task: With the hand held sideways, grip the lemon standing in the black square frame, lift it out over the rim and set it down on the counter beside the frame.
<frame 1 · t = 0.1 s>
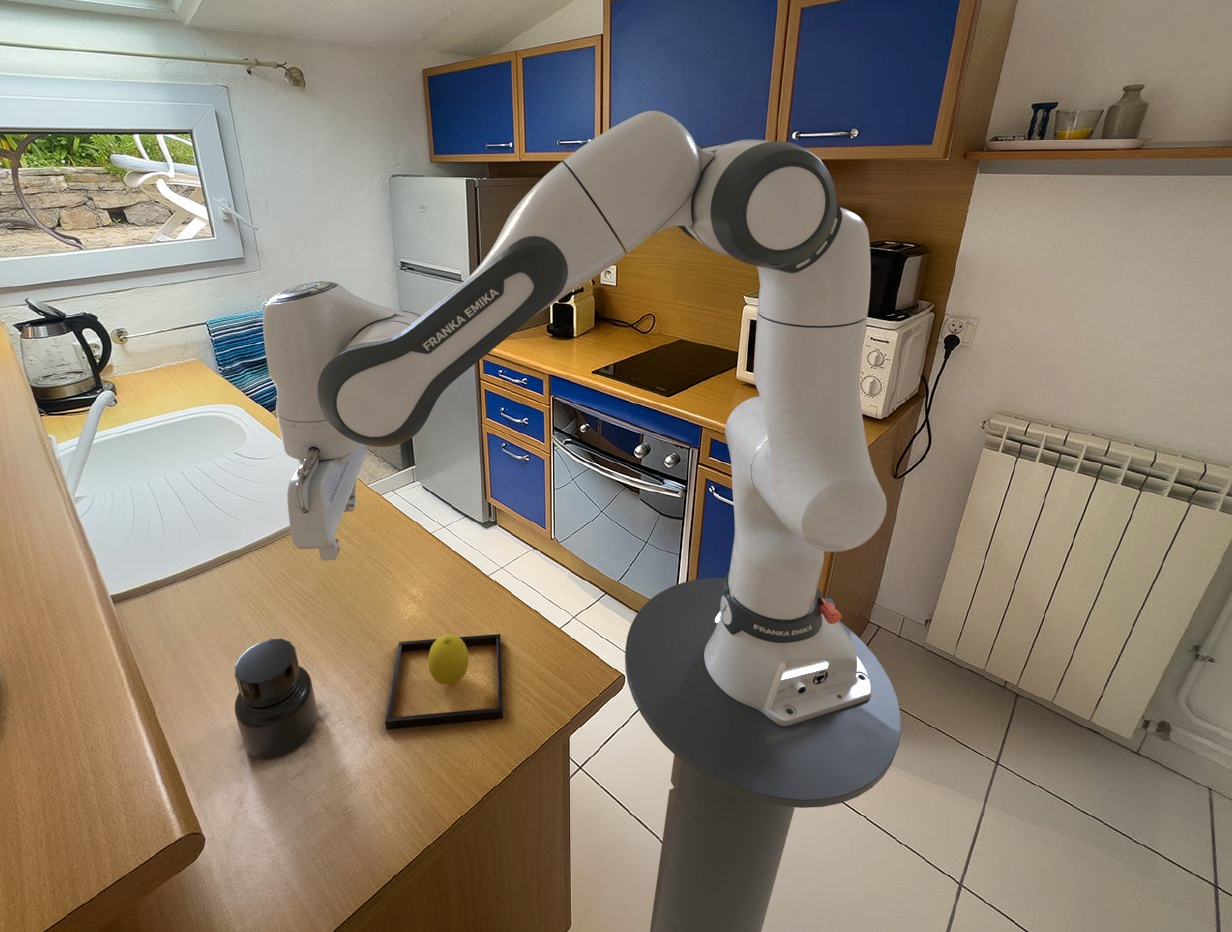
hand: (340, 531, 70), 27 cm above the counter, tool pointing down, fingers open, 8 cm apart
ink bottle: (282, 729, 75), on the counter
lemon: (450, 681, 82), resting in black square frame
black square frame: (448, 681, 82), on the counter
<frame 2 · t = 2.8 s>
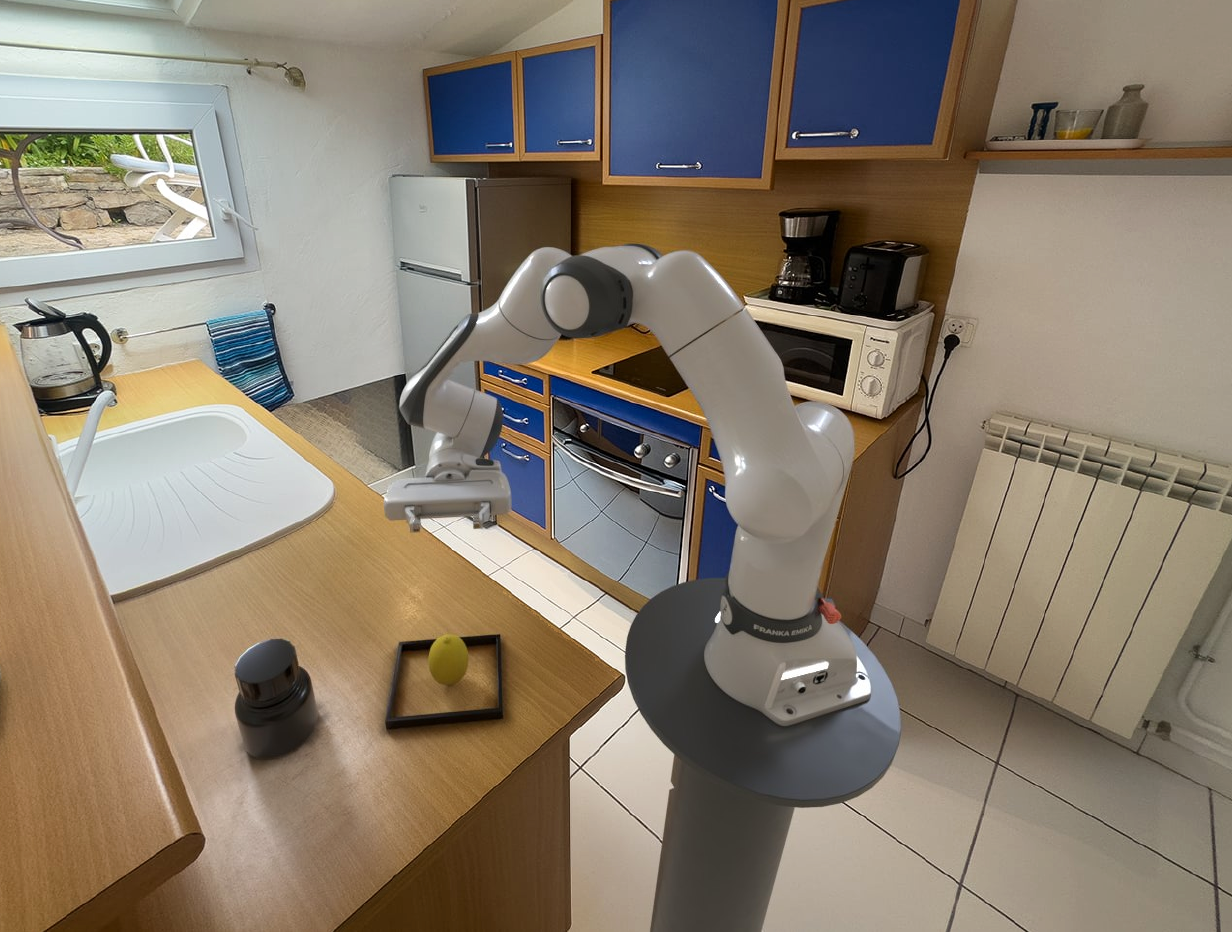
hand: (446, 527, 87), 17 cm above the counter, tool horizontal, fingers open, 8 cm apart
nothing on the counter moved.
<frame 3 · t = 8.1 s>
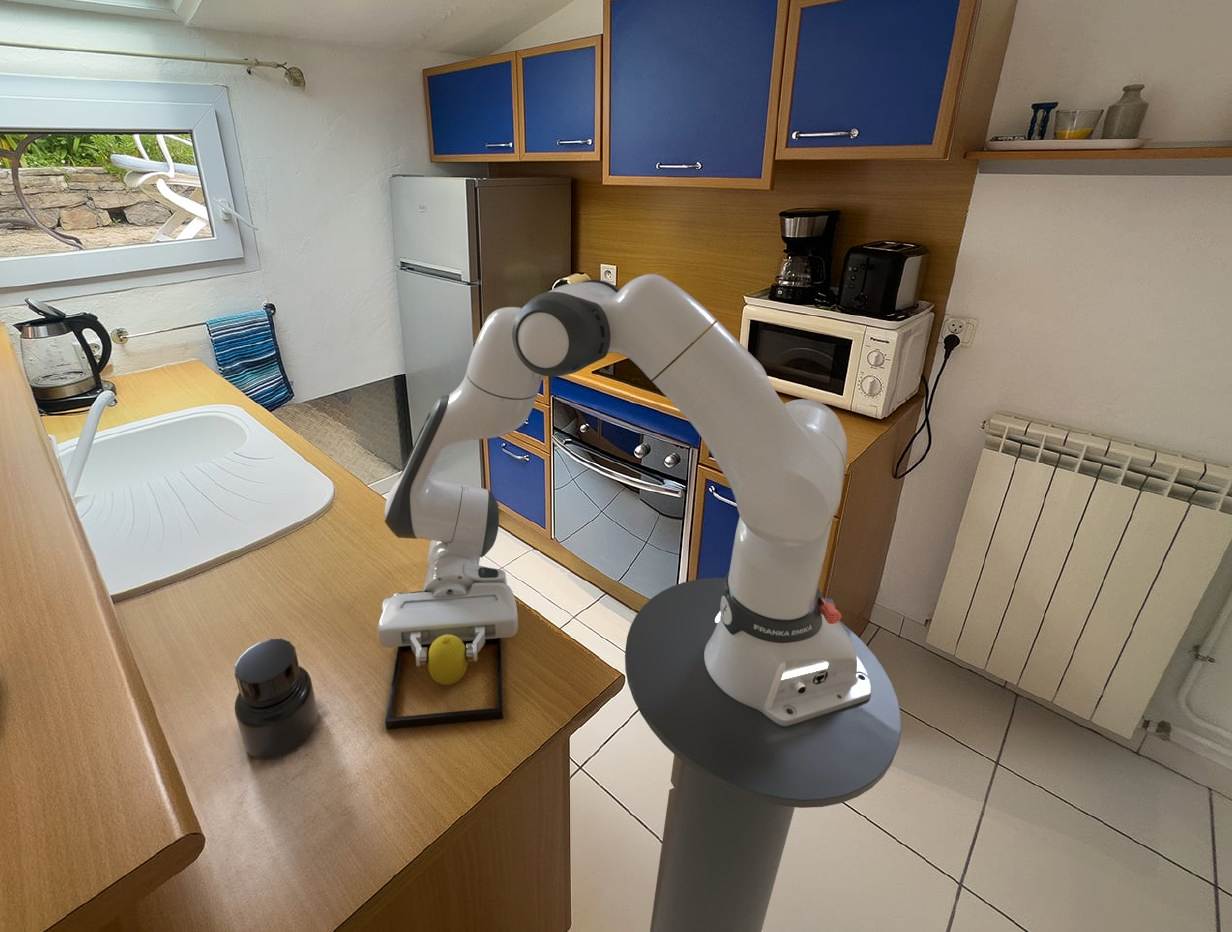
hand: (447, 660, 79), 5 cm above the counter, tool horizontal, fingers closed on lemon, 5 cm apart
lemon: (450, 681, 82), resting in black square frame, touching gripper
everything else where it was.
when the fingers open (5 cm above the counter, at t = 16.4 s): lemon stays where it is, on the counter.
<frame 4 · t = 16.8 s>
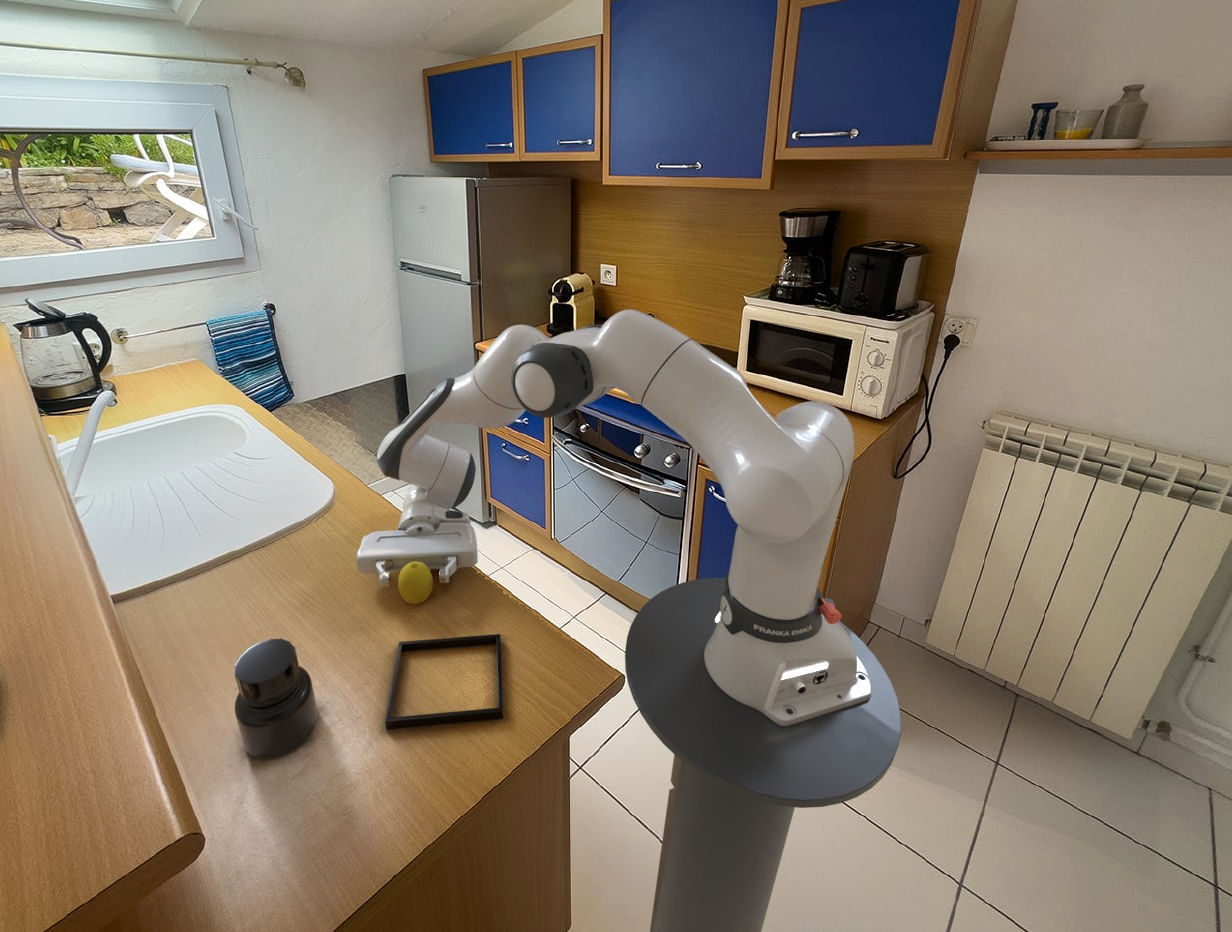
hand: (414, 581, 93), 5 cm above the counter, tool horizontal, fingers open, 8 cm apart
lemon: (417, 602, 96), on the counter
everything else where it was.
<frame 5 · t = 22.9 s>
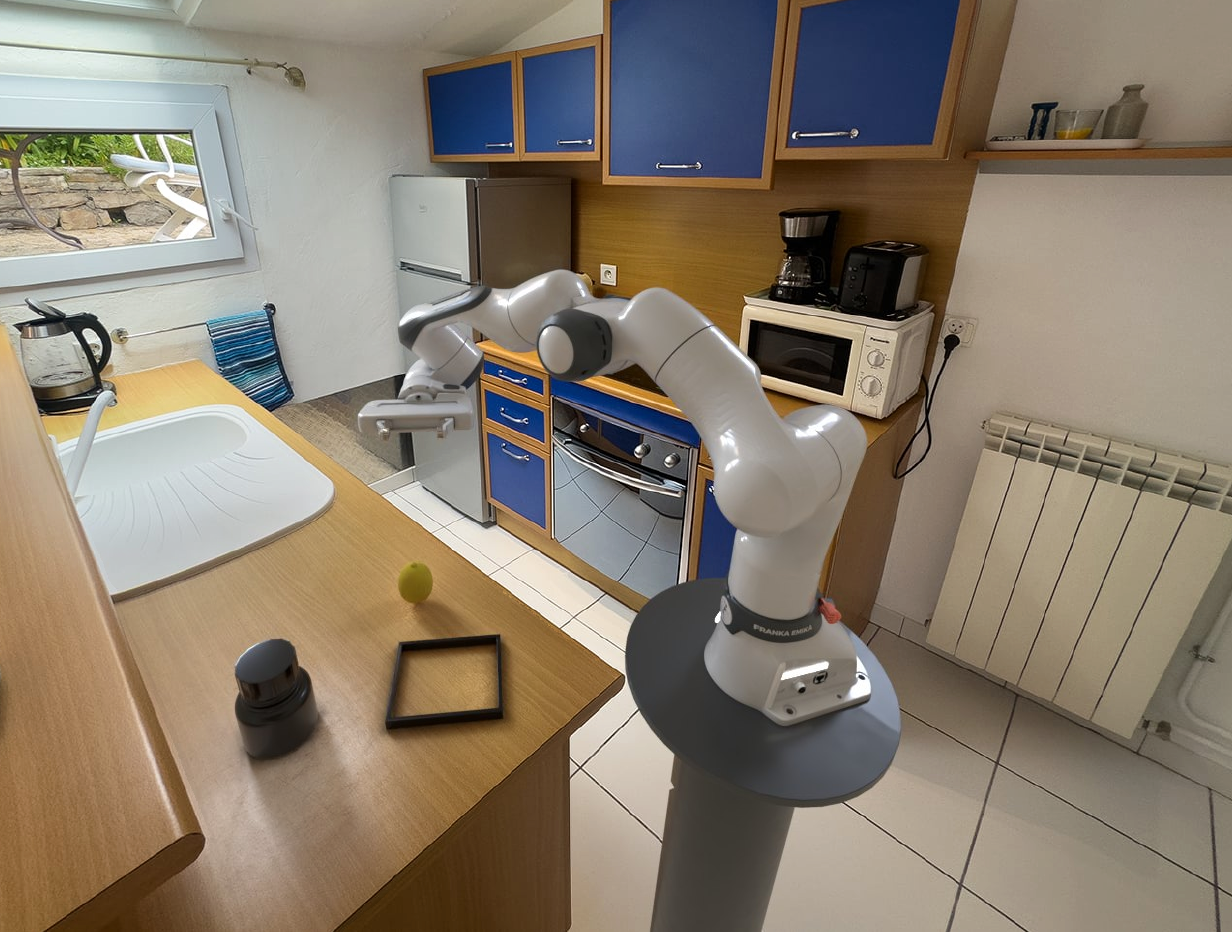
hand: (413, 436, 97), 25 cm above the counter, tool horizontal, fingers open, 8 cm apart
nothing on the counter moved.
at the end: lemon inside the target area (0.3 cm from its centre), on the counter; the gripper is holding nothing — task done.
